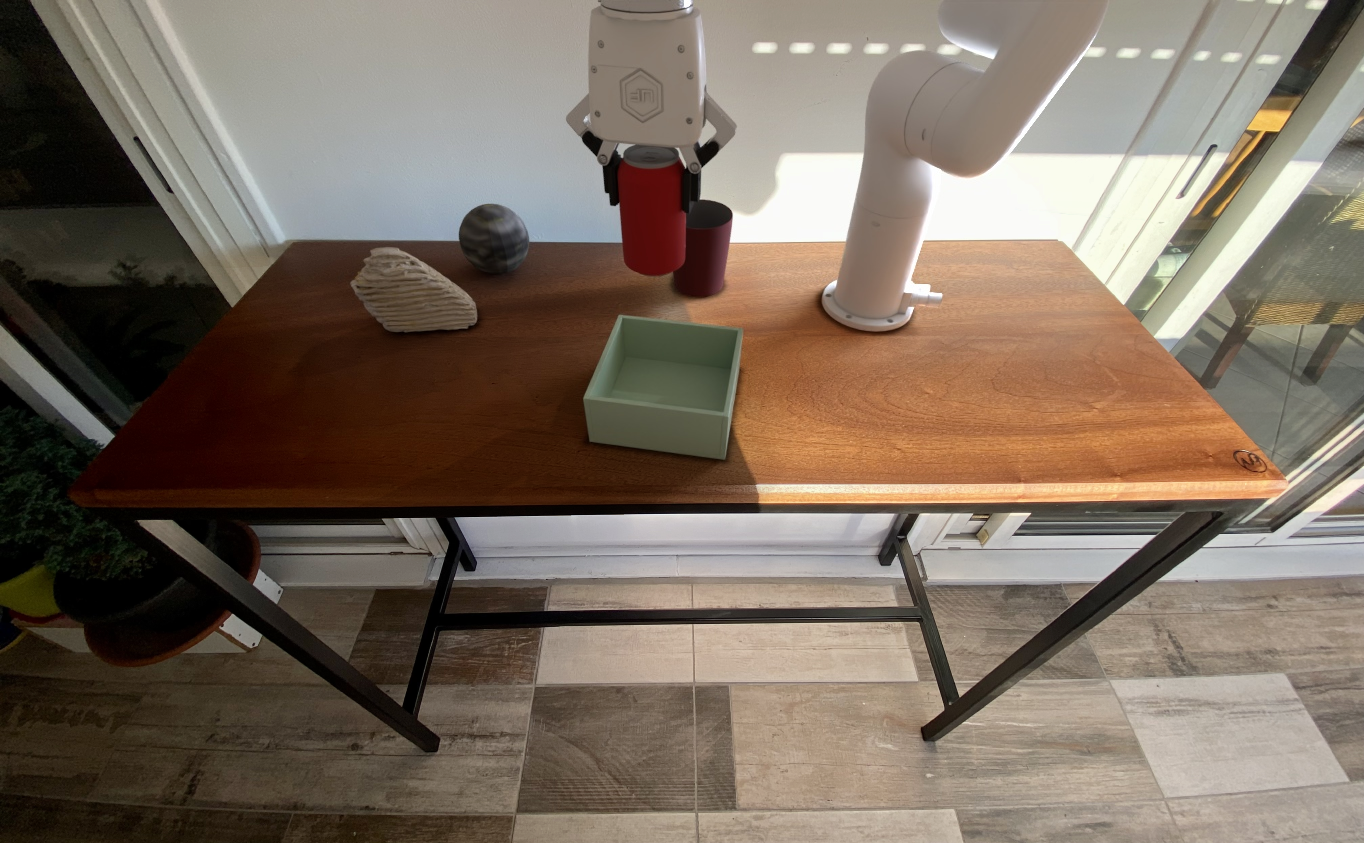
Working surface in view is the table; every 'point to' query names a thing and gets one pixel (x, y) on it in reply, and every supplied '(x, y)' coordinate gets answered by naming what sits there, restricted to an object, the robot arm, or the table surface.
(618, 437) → the sage green storage bin
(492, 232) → the decorative stone
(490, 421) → the table surface
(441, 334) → the table surface
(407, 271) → the fossil tooth
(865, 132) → the robot arm
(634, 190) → the beverage can
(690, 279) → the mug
